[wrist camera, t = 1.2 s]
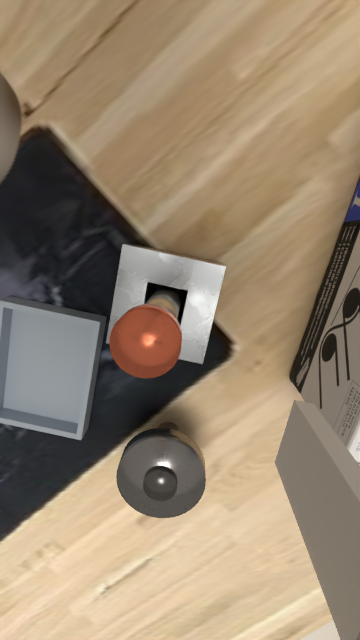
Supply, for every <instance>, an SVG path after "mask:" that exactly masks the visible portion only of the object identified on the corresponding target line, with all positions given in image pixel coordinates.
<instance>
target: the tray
mask: <svg viewBox="0 0 360 640" xmlns="http://www.w3.org/2000/svg"><path fill="white" fill-rule="evenodd" d="M106 318H107V317H106V316H101V315H97V314H92V313H88V312H83V311H78V310H74V309H69V308H64V307H60V306H55V305H51V304H46V303H41V302H37V301H32V300H27V299H23V298H18V297H14V296H10V297H6V298H3V299H0V423H4V424H8V425H13V426H18V427H22V428H27V429H32V430H36V431H41V432H46V433H50V434H55V435H60V436H64V437H69V438H74V439H78V440H82V438H83V436H84V434H85V433H86V431H87V429H88V427H89V421H90V415H91V409H92V403H93V397H94V391H95V385H96V379H97V373H98V367H99V360H100V354H101V348H102V342H103V336H104V330H105V324H106Z"/></svg>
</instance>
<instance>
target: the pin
mask: <svg viewBox="0 0 360 640" xmlns="http://www.w3.org/2000/svg"><path fill="white" fill-rule="evenodd" d="M181 301H182V294H181V291H180V289H178V288H174V287H169V286H164V285H161V286H160V287H159V288H158V289H157V290H156V291H155V292H154V294H153V295H152V296H151V297H150V299H149V300H148V301H147V302H146V304H142V305H138V306H135V307H133V308H131V309H129V310H128V311H127V312H126V313H125V314H124V315H123V316H122V317H121V318H120V319H119V320H118V321H117V322H116V323H115V325H114V326H113V328H112V331H111V334H110V340H109V346H110V351H111V354H112V357H113V359H114V360H115V362H116V363H117V365H118V366H119V367H120V368H121V369H122V370H124V371H125V372H127V373H128V374H130V375H133V376H135V377H139V378H154V377H158V376H161V375H163V374H165V373H166V372H168V371H169V370H170V369H171V368H172V367H173V366H174V365H175V363H176V362H177V360H178V358H179V355H180V352H181V345H182V330H181V327H180V324H179V322H178V321H177V318H178V314H179V309H180V305H181Z"/></svg>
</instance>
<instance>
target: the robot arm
mask: <svg viewBox="0 0 360 640" xmlns="http://www.w3.org/2000/svg"><path fill="white" fill-rule="evenodd" d="M275 464H276V466H277V469H278V472H279V474H280V477H281V480H282V483H283V485H284V488H285V491H286V493H287V496H288V499H289V501H290V504H291V507H292V509H293V512H294V515H295V518H296V520H297V523H298V526H299V528H300V531H301V534H302V536H303V539H304V542H305V545H306V547H307V550H308V553H309V555H310V558H311V561H312V563H313V566H314V569H315V572H316V574H317V577H318V580H319V582H320V585H321V588H322V590H323V593H324V596H325V599H326V601H327V604H328V607H329V609H330V612H331V615H332V617H333V620H334V623H335V625H336V628H337V631H338V634H339V636H340V639H341V640H360V465H359V464H358V463H357V461H356V460H355V459H354V457H353V456H352V455H351V453H350V452H349V451H348V449H347V448H346V447H345V445H344V444H343V443H342V441H341V440H340V439H339V437H338V436H337V435H336V433H335V432H334V431H333V429H332V428H331V427H330V425H329V424H328V423H327V421H326V420H325V418H324V417H323V416H322V414H321V413H320V412H319V410H318V409H317V408H316V406H315V405H314V404H310V403H306V402H301V401H296V400H294V403H293V406H292V409H291V412H290V416H289V419H288V422H287V425H286V428H285V432H284V435H283V438H282V441H281V445H280V448H279V451H278V454H277V457H276V461H275Z"/></svg>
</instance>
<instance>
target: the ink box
mask: <svg viewBox="0 0 360 640" xmlns="http://www.w3.org/2000/svg"><path fill="white" fill-rule="evenodd" d="M290 380H291V382H292V383H293V384H294V385H295V387H296V388H297V389H298V391H299V392H300V394H301V396H302V397H303V399H304V400H305V401H306V403H310V404H314V405H315V406H316V408H317V409H318V410H319V412H320V413H321V414H322V416H323V417H324V418H325V420H326V421H327V423H328V424H329V425H330V427H331V428H332V429H333V431H334V432H335V433H336V435H337V436H338V437H339V439H340V440H341V441H342V443H343V444H344V445H345V447H346V448H347V449H348V451H349V452H350V453H351V455H352V456H353V457H354V459H355V460H356V461H357V463H358V464H360V179H359V182H358V185H357V188H356V191H355V193H354V196H353V199H352V202H351V205H350V207H349V210H348V213H347V216H346V219H345V222H344V224H343V227H342V230H341V233H340V236H339V239H338V242H337V245H336V248H335V250H334V253H333V256H332V259H331V261H330V264H329V267H328V270H327V272H326V275H325V278H324V281H323V284H322V286H321V289H320V292H319V294H318V296H317V300H316V304H315V307H314V310H313V313H312V316H311V319H310V322H309V325H308V327H307V330H306V333H305V335H304V338H303V341H302V344H301V346H300V351H299V353H298V355H297V358H296V360H295V363H294V366H293V369H292V372H291V375H290Z"/></svg>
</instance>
